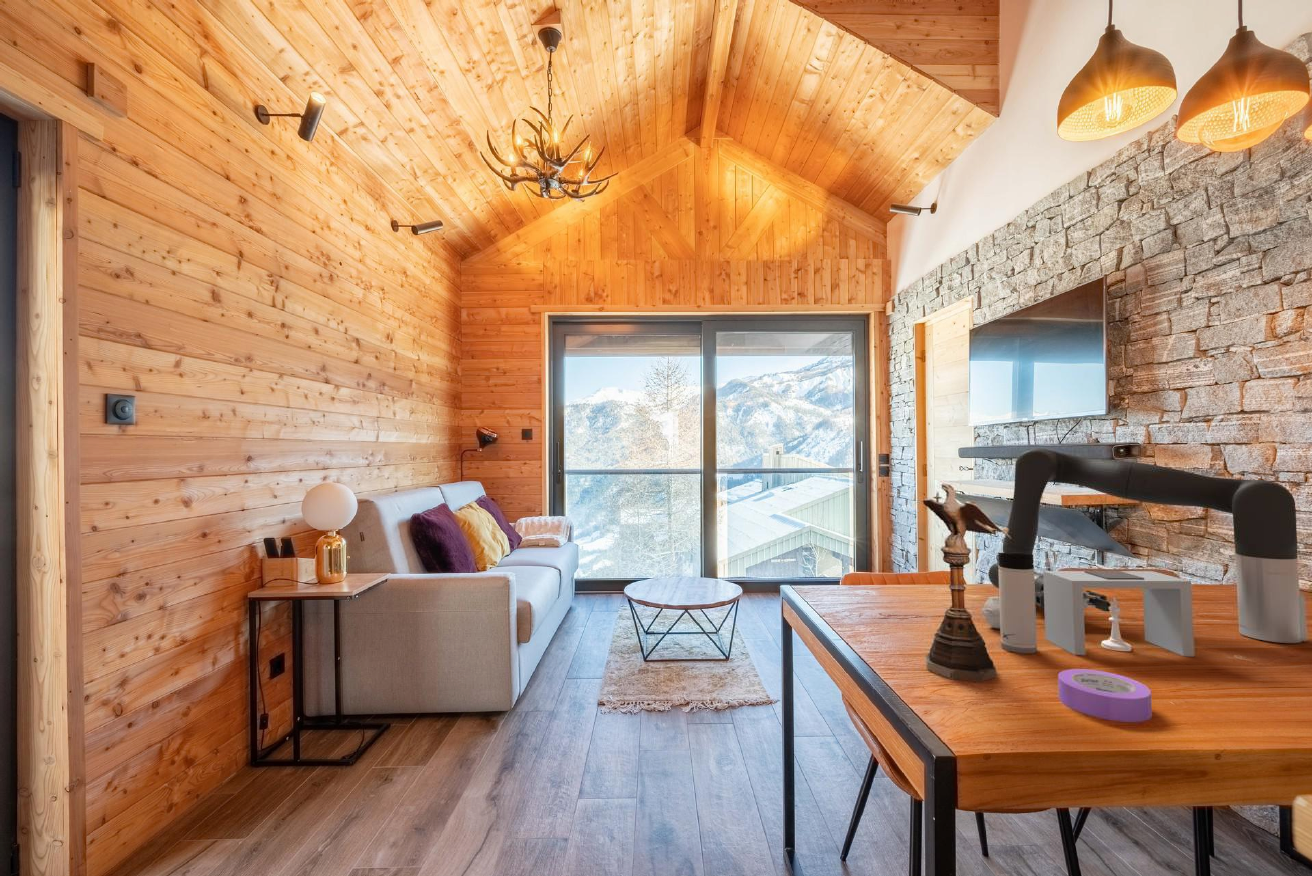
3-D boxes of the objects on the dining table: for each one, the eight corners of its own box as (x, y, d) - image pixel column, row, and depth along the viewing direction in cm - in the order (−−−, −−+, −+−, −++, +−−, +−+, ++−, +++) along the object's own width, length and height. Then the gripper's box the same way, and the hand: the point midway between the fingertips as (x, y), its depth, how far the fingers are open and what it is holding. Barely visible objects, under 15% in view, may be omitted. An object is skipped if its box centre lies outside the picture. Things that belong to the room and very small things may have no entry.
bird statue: (961, 648, 120) (955, 478, 121) (1025, 668, 108) (1019, 479, 109) (904, 662, 113) (899, 480, 114) (967, 685, 101) (960, 482, 102)
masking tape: (1171, 725, 86) (1170, 699, 86) (1083, 721, 88) (1082, 695, 88) (1121, 693, 97) (1120, 670, 97) (1044, 690, 99) (1044, 667, 99)
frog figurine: (1013, 626, 135) (1012, 595, 135) (1012, 634, 129) (1011, 602, 129) (983, 622, 138) (982, 592, 139) (981, 630, 132) (980, 599, 133)
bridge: (1155, 640, 124) (1152, 571, 124) (1194, 656, 114) (1191, 581, 114) (1045, 639, 125) (1043, 571, 126) (1074, 654, 115) (1072, 580, 116)
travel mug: (1004, 652, 117) (1000, 552, 118) (998, 642, 123) (995, 547, 124) (1040, 656, 115) (1037, 553, 116) (1033, 646, 121) (1029, 548, 122)
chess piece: (1137, 652, 117) (1135, 601, 117) (1109, 650, 118) (1107, 600, 118) (1123, 644, 121) (1121, 595, 122) (1096, 643, 122) (1094, 594, 123)
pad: (1119, 572, 123) (1119, 571, 123) (1144, 579, 116) (1144, 577, 116) (1084, 572, 124) (1084, 571, 124) (1106, 579, 117) (1106, 577, 117)
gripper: (1014, 574, 145) (1052, 589, 129) (1075, 575, 144) (1121, 589, 128) (1015, 605, 145) (1054, 623, 129) (1076, 605, 144) (1122, 624, 128)
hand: (1087, 606), depth 128 cm, fingers open, 8 cm apart
